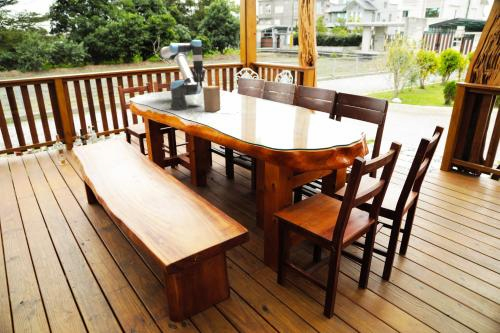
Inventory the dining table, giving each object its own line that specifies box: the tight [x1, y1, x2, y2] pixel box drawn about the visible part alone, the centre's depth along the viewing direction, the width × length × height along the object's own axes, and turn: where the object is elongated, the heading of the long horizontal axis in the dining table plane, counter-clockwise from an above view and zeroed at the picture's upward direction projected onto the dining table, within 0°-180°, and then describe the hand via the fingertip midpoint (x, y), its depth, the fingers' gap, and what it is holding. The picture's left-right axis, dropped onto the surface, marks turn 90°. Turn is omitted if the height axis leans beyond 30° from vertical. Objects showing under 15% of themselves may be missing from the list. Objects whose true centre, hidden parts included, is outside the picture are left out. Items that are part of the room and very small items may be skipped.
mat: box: [215, 108, 241, 115], centre depth 269 cm, size 16×14×1 cm
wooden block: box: [202, 85, 221, 113], centre depth 270 cm, size 10×10×20 cm
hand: (199, 90), depth 270 cm, fingers closed
